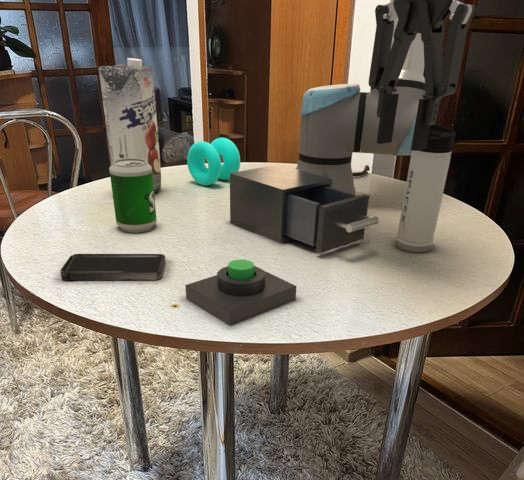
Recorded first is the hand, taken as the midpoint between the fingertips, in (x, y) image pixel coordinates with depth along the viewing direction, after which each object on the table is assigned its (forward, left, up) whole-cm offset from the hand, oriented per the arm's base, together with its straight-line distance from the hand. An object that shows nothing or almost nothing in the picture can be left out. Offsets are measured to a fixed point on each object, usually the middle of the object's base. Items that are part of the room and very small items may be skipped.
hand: (400, 145), depth 74 cm
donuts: (-10, -59, -19) cm, 63 cm away
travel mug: (-12, -2, -19) cm, 23 cm away
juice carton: (+10, -61, -19) cm, 65 cm away
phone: (+35, -25, -19) cm, 47 cm away
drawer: (0, -13, -18) cm, 22 cm away
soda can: (+22, -41, -19) cm, 50 cm away
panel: (+26, -5, -19) cm, 32 cm away
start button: (+26, -5, -15) cm, 31 cm away
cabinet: (0, -25, -19) cm, 31 cm away
